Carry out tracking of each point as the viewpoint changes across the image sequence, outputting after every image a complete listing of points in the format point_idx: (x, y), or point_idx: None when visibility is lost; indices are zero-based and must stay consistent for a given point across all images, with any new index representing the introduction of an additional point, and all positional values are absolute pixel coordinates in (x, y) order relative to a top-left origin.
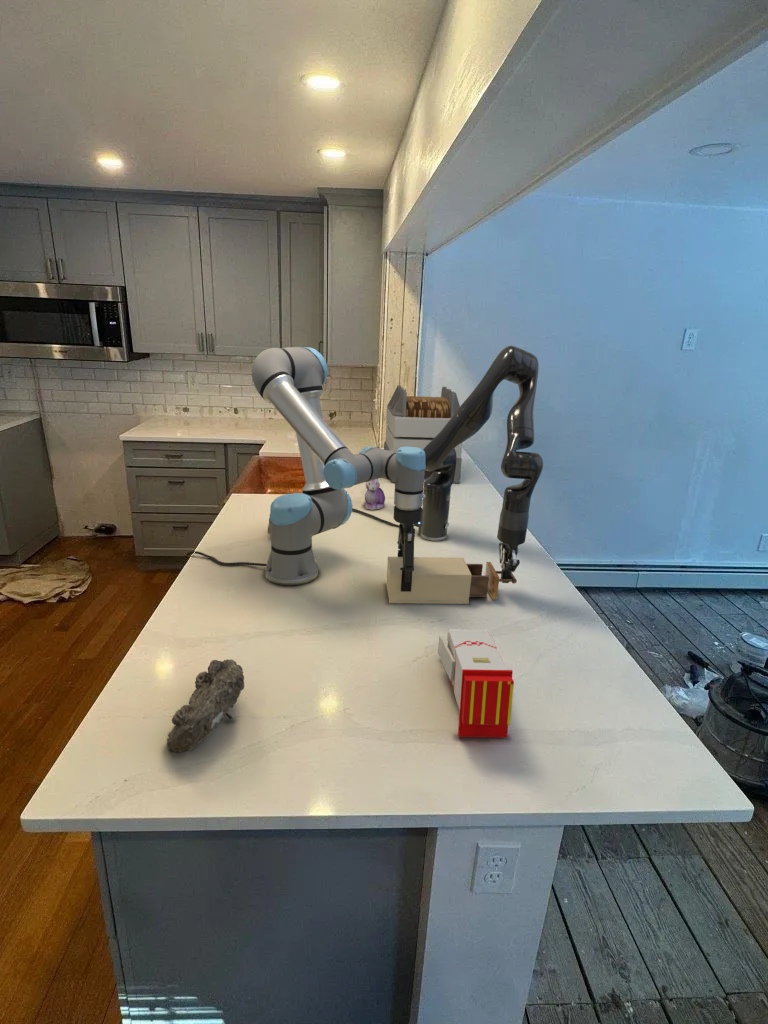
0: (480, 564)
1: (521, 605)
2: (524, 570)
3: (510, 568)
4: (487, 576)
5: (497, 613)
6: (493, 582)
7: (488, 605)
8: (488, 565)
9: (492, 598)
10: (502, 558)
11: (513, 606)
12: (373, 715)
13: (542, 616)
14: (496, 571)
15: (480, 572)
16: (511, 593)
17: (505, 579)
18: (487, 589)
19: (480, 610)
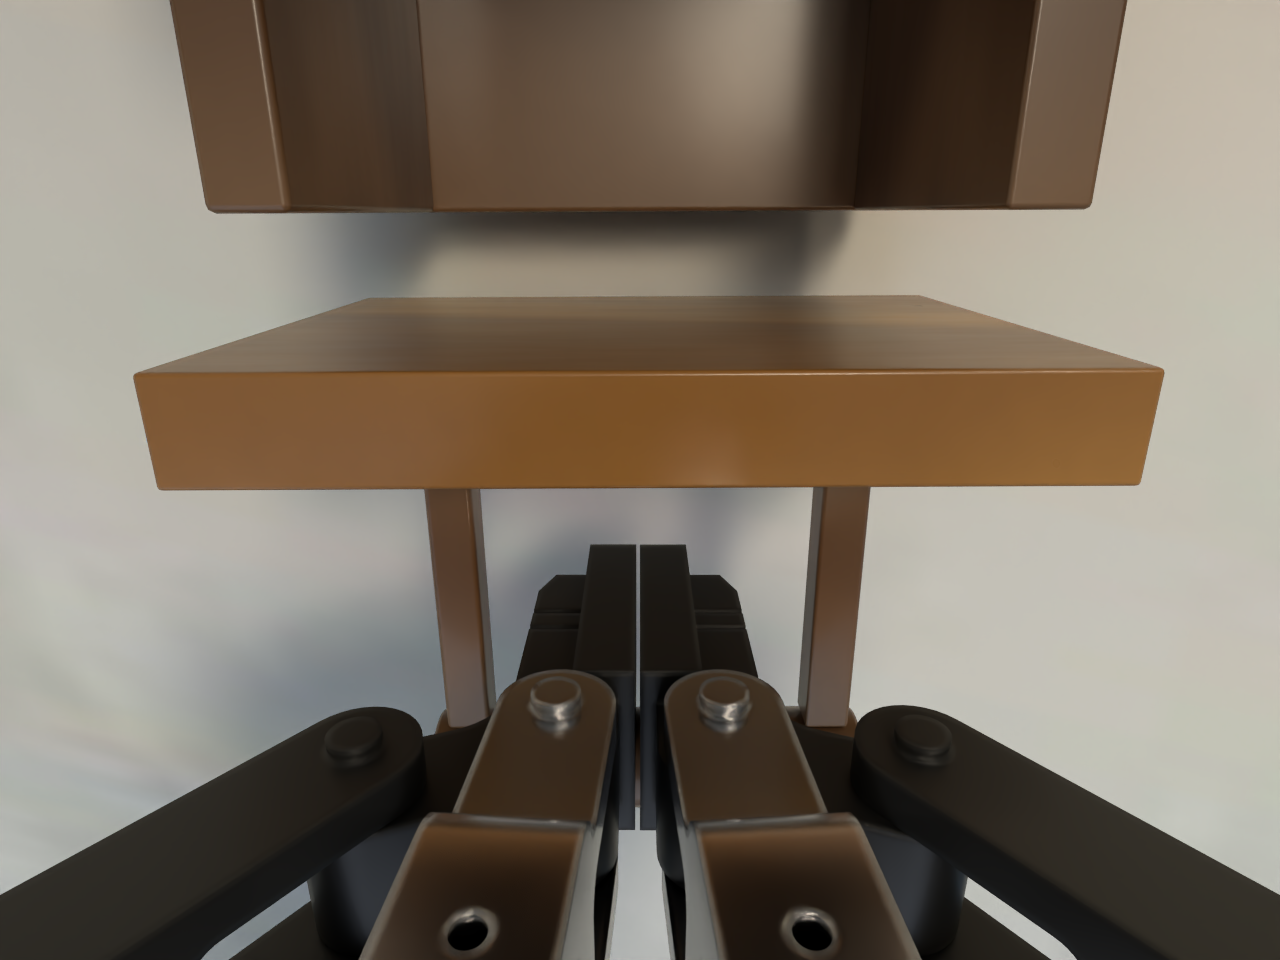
0: (1055, 139)
1: (367, 654)
2: None
3: (318, 897)
4: (212, 166)
5: (90, 298)
6: (304, 339)
7: (302, 220)
8: (920, 369)
9: (365, 300)
10: (703, 900)
11: (327, 556)
12: None
13: (145, 798)
14: (836, 533)
15: (925, 171)
16: None
17: (451, 622)
18: (691, 297)
19: (121, 48)
